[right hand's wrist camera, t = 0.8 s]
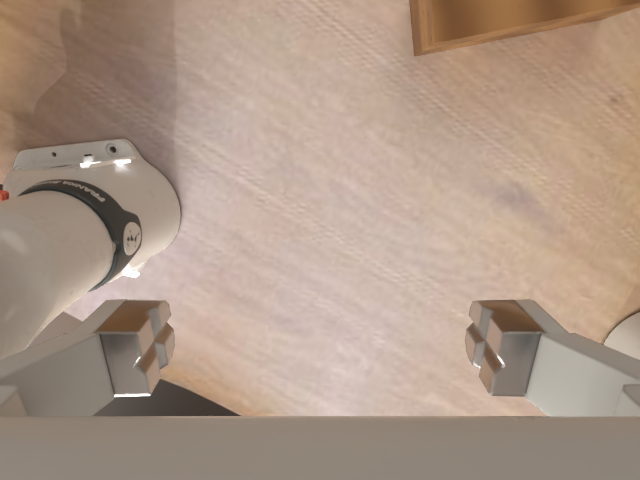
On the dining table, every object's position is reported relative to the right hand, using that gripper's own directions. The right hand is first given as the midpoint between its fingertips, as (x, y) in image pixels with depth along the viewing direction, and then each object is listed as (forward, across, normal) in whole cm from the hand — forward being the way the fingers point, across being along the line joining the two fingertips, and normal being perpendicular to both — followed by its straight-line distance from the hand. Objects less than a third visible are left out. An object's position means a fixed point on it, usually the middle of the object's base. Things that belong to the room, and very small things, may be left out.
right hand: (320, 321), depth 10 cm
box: (+40, -21, -15) cm, 48 cm away
